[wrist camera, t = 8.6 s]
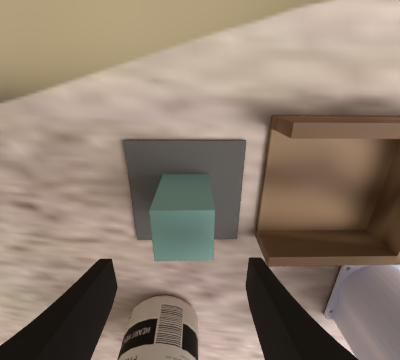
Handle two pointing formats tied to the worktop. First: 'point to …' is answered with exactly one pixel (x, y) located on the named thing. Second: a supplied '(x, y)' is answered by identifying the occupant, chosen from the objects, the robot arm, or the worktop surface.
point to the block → (183, 218)
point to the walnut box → (331, 191)
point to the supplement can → (161, 331)
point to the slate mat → (187, 164)
